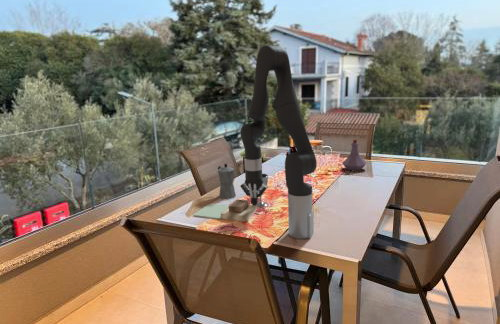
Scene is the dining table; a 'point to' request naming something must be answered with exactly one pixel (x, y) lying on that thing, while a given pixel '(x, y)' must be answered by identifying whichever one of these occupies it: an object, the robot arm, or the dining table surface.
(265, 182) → the wine glass
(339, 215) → the dining table surface
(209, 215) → the mat
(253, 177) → the robot arm
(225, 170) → the coffeepot
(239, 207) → the brown rectangular block
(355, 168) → the flask
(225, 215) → the board
